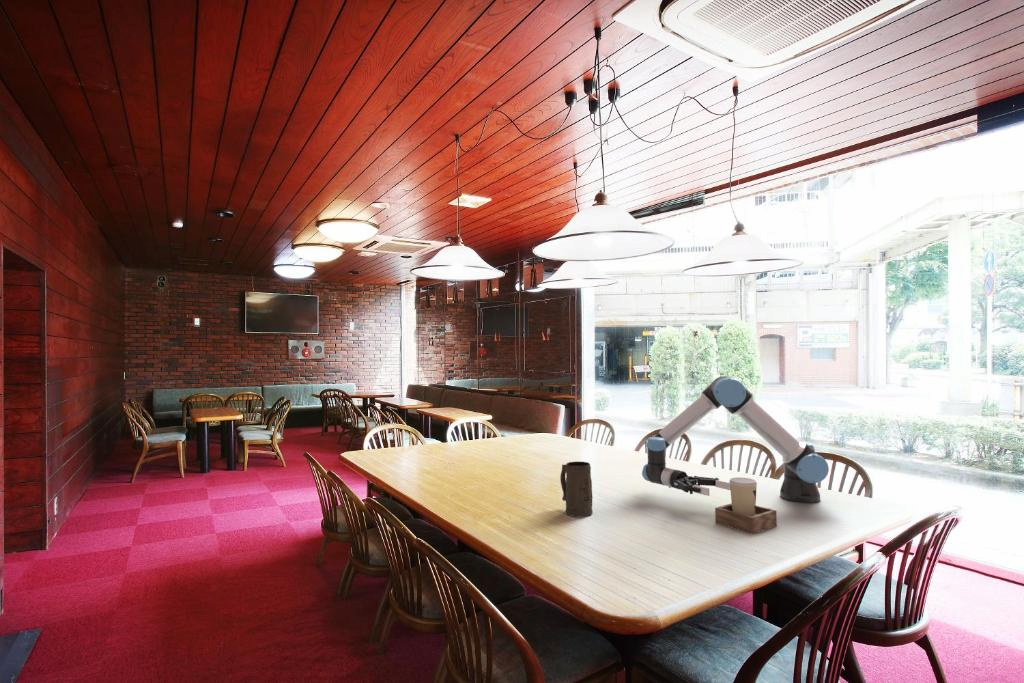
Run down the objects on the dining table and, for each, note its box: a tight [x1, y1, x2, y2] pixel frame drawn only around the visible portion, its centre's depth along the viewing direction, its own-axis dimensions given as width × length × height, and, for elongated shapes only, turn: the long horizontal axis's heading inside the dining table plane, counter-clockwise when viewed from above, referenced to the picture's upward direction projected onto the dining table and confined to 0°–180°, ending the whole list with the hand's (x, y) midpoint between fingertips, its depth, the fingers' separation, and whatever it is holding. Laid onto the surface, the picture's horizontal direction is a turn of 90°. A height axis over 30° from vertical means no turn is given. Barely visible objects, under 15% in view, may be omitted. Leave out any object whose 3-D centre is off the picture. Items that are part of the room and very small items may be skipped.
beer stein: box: [559, 461, 594, 517], centre depth 210 cm, size 15×11×20 cm
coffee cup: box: [729, 477, 758, 516], centre depth 195 cm, size 9×9×12 cm
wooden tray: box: [714, 502, 778, 535], centre depth 192 cm, size 15×15×6 cm
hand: (720, 489), depth 201 cm, fingers open, 13 cm apart
